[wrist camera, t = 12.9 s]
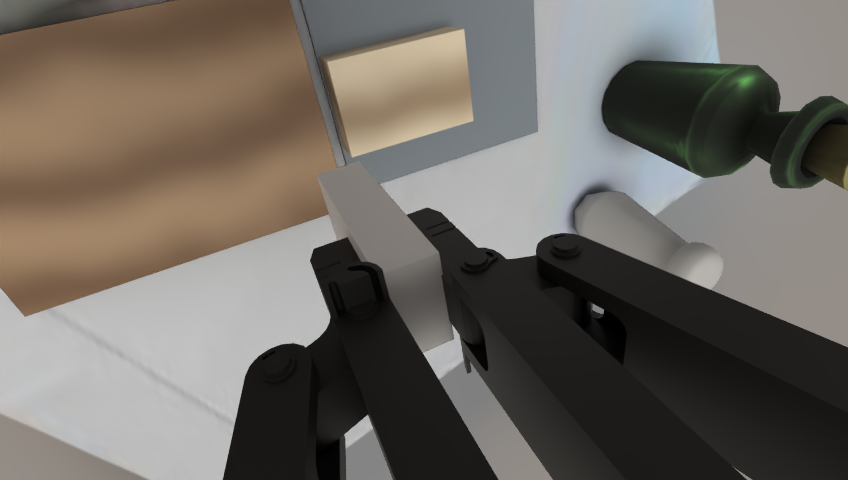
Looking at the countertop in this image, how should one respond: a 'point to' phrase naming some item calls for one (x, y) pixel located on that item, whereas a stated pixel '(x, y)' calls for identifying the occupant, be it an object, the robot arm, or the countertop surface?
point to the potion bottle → (727, 122)
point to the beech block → (399, 89)
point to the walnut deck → (151, 143)
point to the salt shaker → (645, 237)
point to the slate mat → (487, 64)
